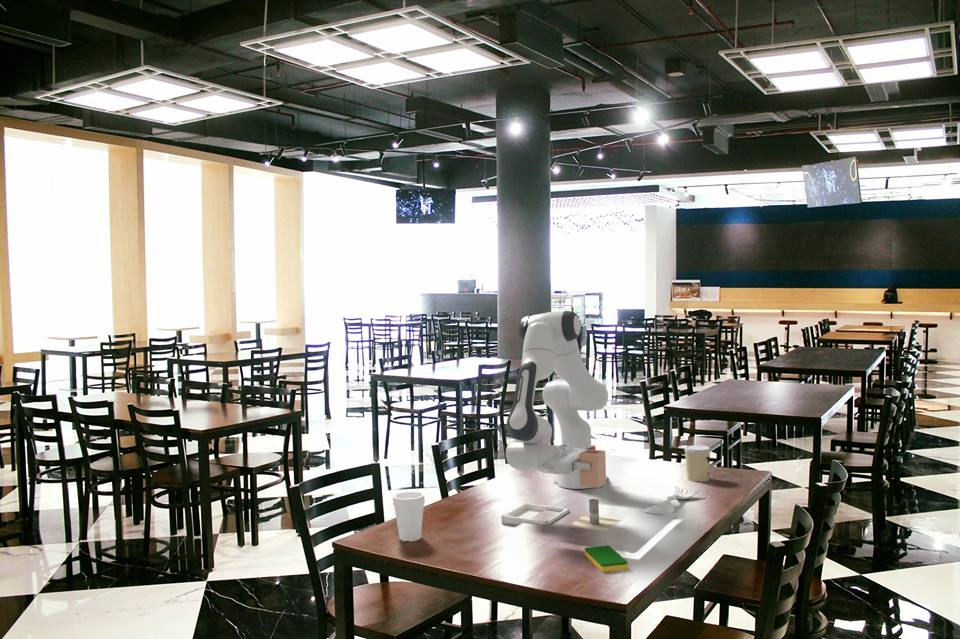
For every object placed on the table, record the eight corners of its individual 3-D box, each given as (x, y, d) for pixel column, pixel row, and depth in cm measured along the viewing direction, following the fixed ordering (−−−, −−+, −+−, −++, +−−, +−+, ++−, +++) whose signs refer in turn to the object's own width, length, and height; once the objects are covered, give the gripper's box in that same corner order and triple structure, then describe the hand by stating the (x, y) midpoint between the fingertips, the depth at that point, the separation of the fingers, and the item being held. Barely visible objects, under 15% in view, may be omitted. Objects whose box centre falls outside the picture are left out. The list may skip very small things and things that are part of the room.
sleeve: (587, 481, 240) (587, 449, 239) (606, 483, 236) (605, 450, 236) (580, 485, 234) (579, 453, 234) (598, 487, 231) (597, 454, 231)
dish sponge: (602, 573, 199) (601, 564, 199) (584, 556, 212) (584, 547, 212) (628, 571, 200) (627, 561, 200) (609, 553, 214) (608, 544, 214)
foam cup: (399, 545, 226) (398, 501, 226) (390, 536, 235) (388, 493, 234) (430, 539, 230) (428, 496, 229) (420, 531, 238) (418, 489, 238)
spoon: (701, 497, 266) (700, 487, 266) (666, 522, 240) (666, 510, 240) (675, 494, 272) (675, 484, 271) (639, 518, 245) (639, 507, 245)
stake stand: (584, 520, 244) (583, 493, 244) (620, 524, 238) (619, 497, 238) (568, 530, 234) (567, 502, 234) (605, 536, 228) (604, 507, 227)
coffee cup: (714, 481, 286) (713, 449, 285) (688, 482, 286) (687, 450, 285) (707, 476, 295) (706, 444, 295) (682, 476, 295) (681, 445, 295)
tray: (525, 510, 257) (525, 503, 257) (569, 516, 249) (569, 508, 249) (501, 523, 244) (501, 515, 243) (547, 530, 235) (547, 522, 235)
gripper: (538, 456, 233) (581, 460, 226) (567, 443, 250) (607, 446, 243) (539, 477, 233) (581, 481, 226) (567, 463, 251) (608, 466, 243)
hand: (595, 463), depth 235 cm, fingers closed on sleeve, 6 cm apart
